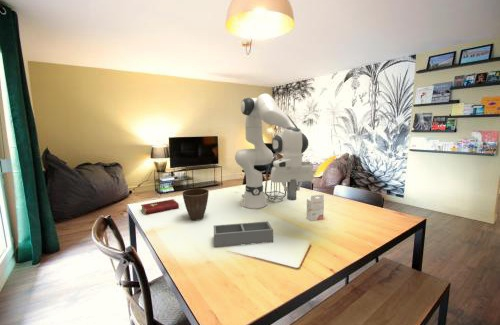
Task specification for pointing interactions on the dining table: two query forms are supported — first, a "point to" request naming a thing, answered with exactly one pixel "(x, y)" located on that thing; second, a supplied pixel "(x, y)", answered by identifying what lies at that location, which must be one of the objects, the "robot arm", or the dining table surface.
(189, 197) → the plant pot
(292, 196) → the metal cell
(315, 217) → the ink cartridge box
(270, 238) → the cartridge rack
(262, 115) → the robot arm
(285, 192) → the geometric lantern
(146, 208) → the hardcover book
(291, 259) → the dining table surface
